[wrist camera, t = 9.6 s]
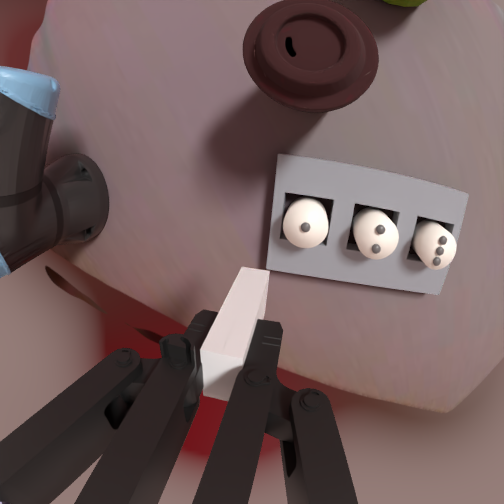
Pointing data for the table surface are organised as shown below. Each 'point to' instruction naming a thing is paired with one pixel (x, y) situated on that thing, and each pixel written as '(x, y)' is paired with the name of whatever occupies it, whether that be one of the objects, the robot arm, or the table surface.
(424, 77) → the table surface
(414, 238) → the button
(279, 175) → the console
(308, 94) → the coffee cup
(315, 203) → the button
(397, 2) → the apple
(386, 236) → the button
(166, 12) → the table surface
